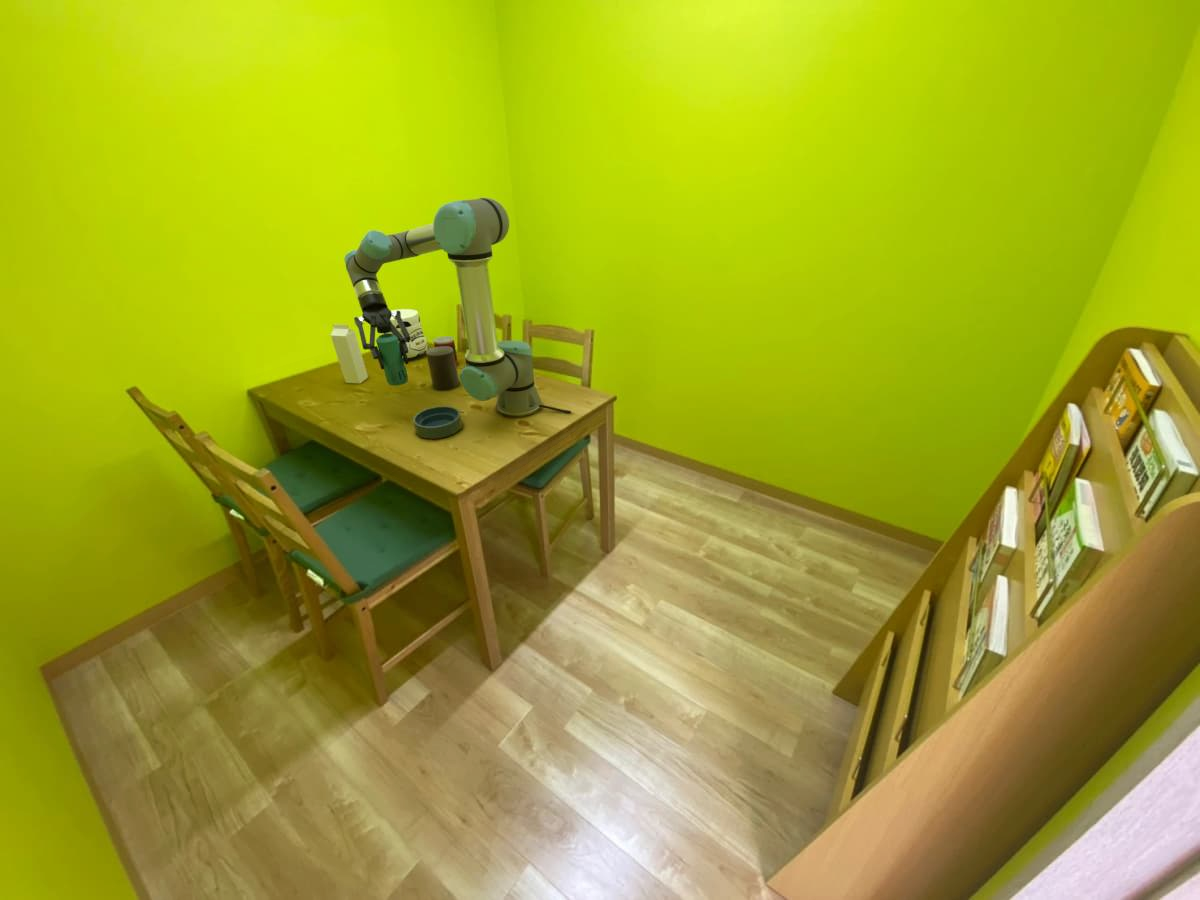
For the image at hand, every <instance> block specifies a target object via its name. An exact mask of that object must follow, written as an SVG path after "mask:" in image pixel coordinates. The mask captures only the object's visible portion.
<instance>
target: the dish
mask: <svg viewBox="0 0 1200 900" xmlns="http://www.w3.org/2000/svg"><path fill="white" fill-rule="evenodd" d="M412 423H413V426H414V427H413V428H414V430H415V433H416V434H417V436H419V437H421V438H422V439H423V438H424V439H429V440H430V439H441V438H442V439H443V438H447V437H449V436H452V435H454V434H456V433H457V432H458V431H460V430H461V429H462V427H463V422H462V416H461V412H460V410H458V409H457V408H456V407H453V406H447V405H445V406H444V405H443V406H442V405H441V406H440V405H439V406H433V407H429V408H426V409H423V410H421V411H420V412H418V413H416V414H415V415H414V417H413V419H412Z"/></svg>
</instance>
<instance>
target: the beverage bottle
mask: <svg viewBox="0 0 1200 900" xmlns="http://www.w3.org/2000/svg"><path fill="white" fill-rule="evenodd" d="M376 327H377V328H376V332H377V334H379V335H378V336H377V337H376V338H375V343H376V346H377V347H378V350H379V353H380V356H381V359H382V361H383V364H384V369H383V372H384V376H385V380H386V383H387V384H388V385H389V386H393V387H396V386H397V387H398V386H402V385H405V384H407V383H408V381H409V377H408V376H409V375H408V373H407V367H406V366H405V365H406V364H405V361H404V360H403V357H402V353H401V348H400V346H399V342H398V337H397V336H395V335H393V334H384V333H389V332H391V331H392V328H391V326H390V324H389V323H382V324H378V325H377V326H376Z"/></svg>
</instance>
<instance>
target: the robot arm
mask: <svg viewBox="0 0 1200 900" xmlns="http://www.w3.org/2000/svg"><path fill="white" fill-rule="evenodd" d="M509 229H510V217H509V215H508V213H507V210H506V209H505V207H504V206H503V205H502V204H501V203H500V202H498V201H497V200H495V199H493V198H489V197H480V198H473V199H463V200H454V201H451V202H447V203H444V204H443V205H441V206H440V207H439V208H438V210H437V211H436V213H435V215H434V218H433V222H432V223H428V224H426V225H423V226H419V227H416V228H413V229H409V230H405V231H402V232H397V233H392V234H385V233H384V232H382V231H377V230H375V229H372V230H369V231H368V232H367V233H366V234H365V235H364V237H363V238H362V240H361V242H360V244H359V246H358V248H357V249H353V250H350V251H349V252H347V253H346V254H345V256H344V258H343V259H344V264H345V268H346V269H345V270H346V272H347V273H348V277H349V279H350V282H351V285H352V287H353V290H354V292H355V295H356V299H357V301H358V304H359V307H360V309H361V312H362V315H361V316H360V317H358V316H355V317H353V321H354V324H355V326H356V327H357V329H358V333H359V337H360V341H361V346H362V349H363V350H364V351H366V350H369V351H370V353H371V355H372V358H373V359H374V360H378V364H379V367H380V369H381V370H384V364H383V361H382V359H381V356H380V353H379V349H378V345H375V344H376V331H377V327H376V326H377V325H378V324H382V323H389V324H390V326H391V328H392V331H391V332H392V334H393V335H395V336H397V337H398V341H399V346H400V348H401V352H402V355H403V358H404V360H403V361H404V364H405V365H409V360H410V359H408V357H407V355H406V353H408V347H407V344H406V343H407V342H410V335H409V333H408V331H407V329H406V327H405V325H404V323H403V321H402V319H401V312H400V311H397V312H391V311H392V310H390V309H389V306H388V304H387V302H386V298H385V296H384V293H383V290H382V288H381V286H380V282H379V280H378V279H379V278H378V276H377V274H378V272H379V271H380V269H381V268H382V267H383V265H384V264H388V263H392V262H396V261H397V262H398V261H400V260H406V259H410V258H415V257H419V256H422V255H426V254H430V253H433V252H437V251H441V250H442V251H443V252H445V253H446V254H447V259H448V260H449V261H450V262H451V263H452V264H453V265H454V266H455V272H456V278H457V285H458V291H459V297H460V304H461V309H462V315H463V323H464V328H465V333H466V340H467V347H468V351H466V353H465V354H464V361H465V366H464V367H463V368H462V369H461V371H460V373H459V382H460V383H461V385H462V388H463V390H464V391H465V392H466V393H467V394H468V395H469V396H471V398H473V399H475V400H477V401H481V402H486V401H487V402H488V401H490V400H491V399H494V398H497V400H496V410H497V412H498V413H499V414H500V415H502V416H504V417H508V418H509V417H510V418H524V417H529V416H532V415H534V414H536V413H538V412H539V411H540V410H541V409H542V408H544V409H547V410H552V411H556V412H560V413H566V414H571V413H572V411H571V410H567V409H563V408H562V409H561V408H557V407H553V406H549V405H544V404H542V400H541V399H542V398H541V397H540V394H539V392H538V390H537V388H536V385H535V377H534V375H535V374H534V363H533V362H534V361H533V352H532V347H531V345H529V343H527V342H525V341H521V340H501V341H498V340H499V339H498V333H497V326H496V325H497V324H496V318H495V310H494V302H493V294H492V287H491V279H490V271H489V262H490V261H491V260H492V258H493V256H494V255H493V248H492V246H493V245H496V244H499V243H501V242H502V241H503V240H504V239H505V238H506V236H507V235H508V232H509ZM391 316H393V317H394V319H395V320H397V323H398V325H399V327H400V329H401V331H402V333H403V335H404V337H403V336H402V335H401V334H400V333H399V331H398V330H397V329H396V328H395V326H394V325H393V324H392V323H391V321H390V318H391ZM364 322H366V323H367V324H369V326H370V328H369V343H368V342H367V337H366V334H365V330H364V327H363V326H364Z"/></svg>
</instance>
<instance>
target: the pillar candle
mask: <svg viewBox="0 0 1200 900" xmlns="http://www.w3.org/2000/svg"><path fill="white" fill-rule="evenodd" d="M425 354H426V360H427V362H428V369H429V374H430V379H431V384H432V387H433V388H434V389H435V390H437V391H448V390H452V389H455V388H457V387H459V385H460V378H459V374H458V368H457V365H456V363H455V357H454V352H453V348H451V347H445V346H440V347H434V346H433V347H430V348H428V349H427V351H426V353H425Z"/></svg>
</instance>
